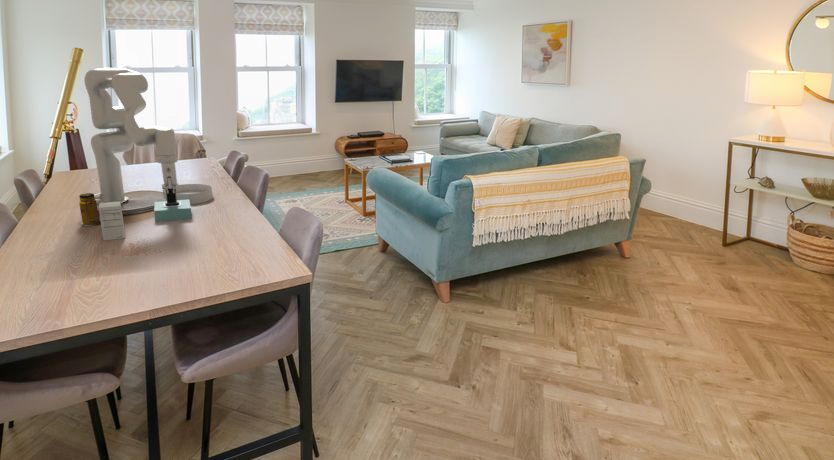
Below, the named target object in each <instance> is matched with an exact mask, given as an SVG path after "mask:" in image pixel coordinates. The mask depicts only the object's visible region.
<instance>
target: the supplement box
mask: <svg viewBox="0 0 834 460" xmlns="http://www.w3.org/2000/svg"><path fill="white" fill-rule="evenodd" d="M98 215H99V219H100V221H101V224H100V226H101V233H102V239H103V241H112V240H121V239H125V238H126V231H125V223H124V216H123V210H122V203H121V202H108V203H98Z"/></svg>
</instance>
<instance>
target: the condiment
mask: <svg viewBox="0 0 834 460" xmlns="http://www.w3.org/2000/svg"><path fill="white" fill-rule="evenodd" d="M78 203H79V208H80V214H81V215H80V216H81V221H82V222H79V224H80V225H82V226H85V227H92V226H96V225H99V224H100V225H101V221H100V214H99V208H98V205H97V204H98V201H97V200H96V199H95V197H94V193H89V192H88V193H82V194H79V202H78Z"/></svg>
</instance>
